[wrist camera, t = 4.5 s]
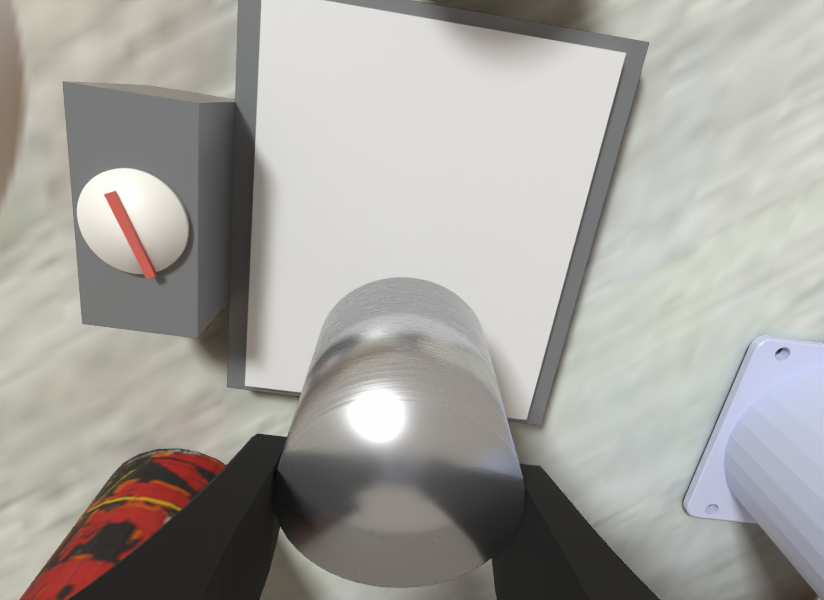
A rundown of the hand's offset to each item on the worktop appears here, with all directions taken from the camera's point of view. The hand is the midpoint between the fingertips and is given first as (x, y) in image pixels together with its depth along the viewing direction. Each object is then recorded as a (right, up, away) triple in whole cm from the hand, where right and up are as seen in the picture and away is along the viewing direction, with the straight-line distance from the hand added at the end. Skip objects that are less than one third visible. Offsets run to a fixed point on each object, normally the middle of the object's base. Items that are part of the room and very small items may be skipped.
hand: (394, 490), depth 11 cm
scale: (-1, +7, +7) cm, 9 cm away
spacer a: (0, +2, +3) cm, 4 cm away
